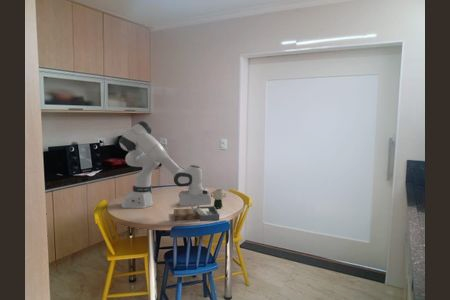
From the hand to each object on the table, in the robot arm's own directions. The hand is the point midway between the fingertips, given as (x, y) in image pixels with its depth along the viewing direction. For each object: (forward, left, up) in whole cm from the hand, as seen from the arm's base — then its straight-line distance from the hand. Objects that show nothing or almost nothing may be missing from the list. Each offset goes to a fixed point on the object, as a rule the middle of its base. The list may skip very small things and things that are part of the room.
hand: (195, 211), depth 199 cm
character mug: (+19, +21, -4) cm, 28 cm away
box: (+9, +4, -4) cm, 11 cm away
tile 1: (+7, +7, -4) cm, 11 cm away
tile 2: (+4, 0, -2) cm, 4 cm away
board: (-5, +4, -4) cm, 8 cm away
